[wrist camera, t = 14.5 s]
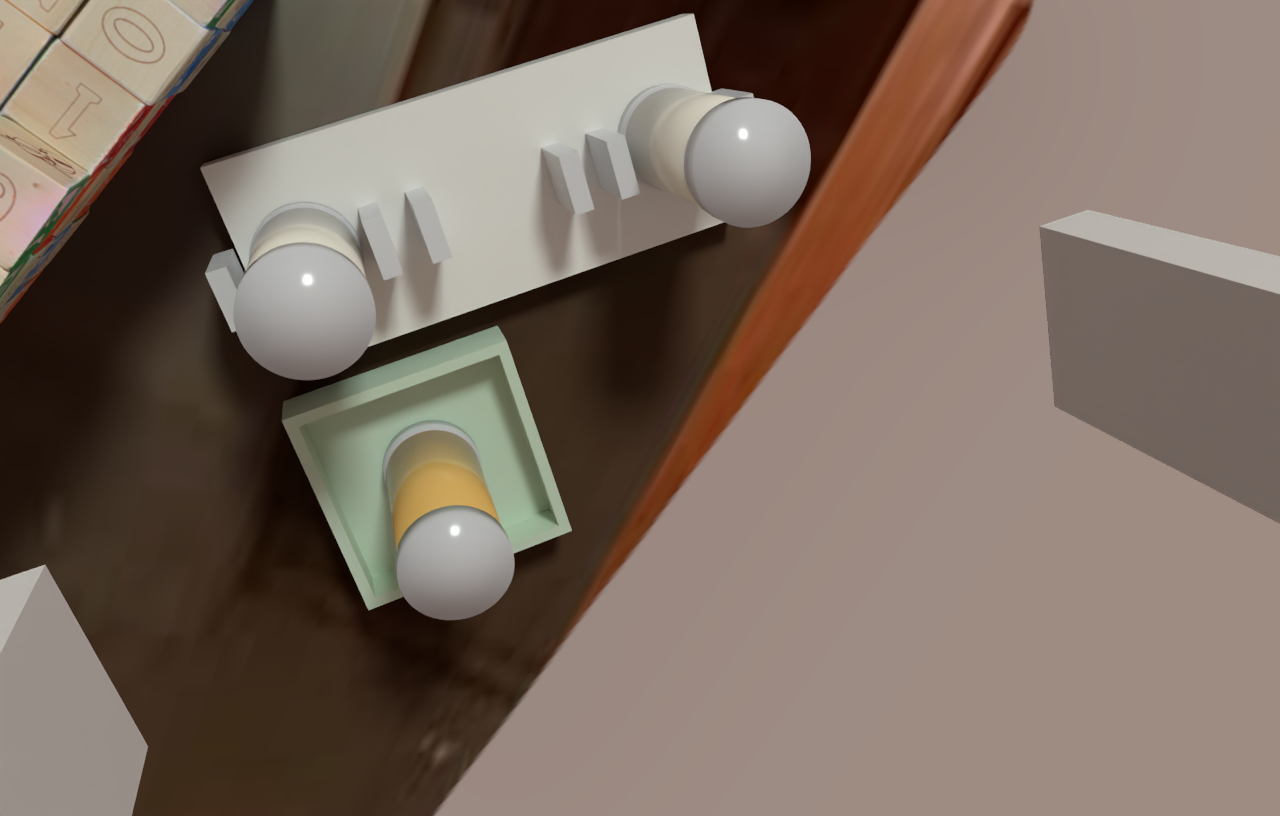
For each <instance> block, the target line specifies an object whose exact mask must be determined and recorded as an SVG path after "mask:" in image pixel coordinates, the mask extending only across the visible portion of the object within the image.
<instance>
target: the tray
mask: <svg viewBox="0 0 1280 816" xmlns="http://www.w3.org/2000/svg"><path fill="white" fill-rule="evenodd" d="M426 420H441V421H446V422H449V423H452V424H454V425H456V426H458V427H460V428H461V429H463V430H464V431H465V432H466V433H467V434H468V435H469V436H470V437H471V438H472V440H473V441H474V443H475V445H476V448H477V450H478V453H479V456H480V459H481V465H482V472H483V474H484V477H485V480H486V483H487V486H488V489H489V492H490V495H491V498H492V501H493V503H494V506H495V509H496V512H497V515H498V518H499V521H500V524H501V525H502V527H503V528H504V530H505V532H506V534H507V536H508V539H509V542H510V544H511V547H512V551H513V554H514V553H516V552H519V551H521V550H524V549H527V548H529V547H532V546H534V545H537V544H539V543H542V542H544V541H547V540H550V539H552V538H555V537H557V536H560V535H562V534H565V533H567V532H570V531H572V530H571V527H570V524H569V521H568V518H567V515H566V512H565V509H564V506H563V504H562V501H561V498H560V495H559V492H558V489H557V486H556V483H555V480H554V477H553V475H552V472H551V469H550V466H549V463H548V460H547V457H546V454H545V451H544V448H543V445H542V443H541V440H540V437H539V434H538V431H537V428H536V425H535V422H534V419H533V416H532V414H531V411H530V408H529V405H528V402H527V399H526V396H525V393H524V390H523V387H522V384H521V382H520V379H519V376H518V373H517V370H516V367H515V364H514V361H513V358H512V355H511V353H510V350H509V347H508V344H507V341H506V339H505V337H504V336H503V334H502V333H501V331H500V329H499V328H498V326H495V327H492V328H489V329H486V330H483V331H481V332H478V333H475V334H472V335H469V336H467V337H464V338H461V339H458V340H455V341H452V342H450V343H447V344H444V345H441V346H438V347H435V348H433V349H430V350H427V351H424V352H421V353H418V354H416V355H413V356H410V357H407V358H404V359H401V360H399V361H396V362H393V363H390V364H387V365H384V366H382V367H379V368H376V369H373V370H370V371H368V372H365V373H362V374H359V375H356V376H353V377H351V378H348V379H345V380H342V381H339V382H336V383H334V384H331V385H328V386H325V387H322V388H319V389H317V390H314V391H311V392H308V393H305V394H302V395H300V396H297V397H294V398H291V399H288V400H286V401H283V410H282V423H283V425H284V427H285V429H286V431H287V434H288V436H289V438H290V440H291V442H292V444H293V447H294V449H295V451H296V453H297V455H298V458H299V460H300V462H301V464H302V466H303V469H304V471H305V473H306V475H307V477H308V479H309V482H310V484H311V486H312V488H313V490H314V493H315V495H316V497H317V499H318V501H319V503H320V506H321V508H322V510H323V512H324V514H325V517H326V519H327V521H328V523H329V525H330V528H331V530H332V532H333V534H334V536H335V538H336V541H337V543H338V545H339V547H340V549H341V552H342V554H343V556H344V558H345V560H346V562H347V565H348V567H349V569H350V571H351V573H352V576H353V578H354V580H355V582H356V584H357V587H358V589H359V591H360V593H361V595H362V597H363V600H364V602H365V604H366V606H367V608H368V610H371V609H374V608H376V607H379V606H381V605H384V604H386V603H389V602H391V601H394V600H396V599H399V598H402V597H404V596H403V594H402V593H401V590H400V588H399V585H398V579H397V572H396V563H395V557H396V545H395V538H394V531H393V523H392V516H391V509H390V502H389V494H388V491H387V489H386V486H385V481H384V475H383V458H384V454H385V451H386V449H387V447H388V445H389V443H390V442H391V440H392V439H393V438H394V437H395V436H396V435H397V434H398V433H399V432H400V431H401V430H403V429H404V428H406V427H408V426H410V425H412V424H414V423H417V422H420V421H426Z"/></svg>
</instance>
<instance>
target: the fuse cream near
mask: <svg viewBox="0 0 1280 816" xmlns="http://www.w3.org/2000/svg"><path fill="white" fill-rule="evenodd" d="M233 317H234V324H235V328H236V332H237V335H238V337H239V339H240V341H241V343H242V345H243V347H244V348H245V349H246V351H247V352H248V353H249V355H250V356H251V357H252V358H253V359H254V360H255V361H256V362H258V363H259V364H260V365H261V366H263V367H264V368H266V369H268V370H269V371H271V372H273V373H275V374H278V375H280V376H283V377H286V378H291V379H296V380H317V379H323V378H327V377H330V376H333V375H335V374H338V373H340V372H342V371H344V370H345V369H347V368H348V367H350V366H351V365H352V364H354V363H355V362H356V361H357V360H358V359H359V358H360V357H361V356H362V354H363V353H364V352H365V350H366V349H367V347H368V345H369V343H370V341H371V339H372V336H373V333H374V329H375V323H376V309H375V303H374V299H373V294H372V291H371V288H370V285H369V283H368V281H367V279H366V276H365V271H364V255H363V250H362V245H361V242H360V239H359V236H358V234H357V232H356V230H355V229H354V227H353V226H352V224H351V223H350V222H349V221H348V220H347V219H346V218H345V217H344V216H343V215H342V214H340V213H339V212H337V211H336V210H334V209H332V208H330V207H328V206H326V205H323V204H319V203H315V202H307V201H306V202H293V203H289V204H285V205H283V206H281V207H278V208H277V209H275V210H273V211H272V212H270V213H269V214H268V215H267V216H266V217H265V218H264V219H263V220H262V221H261V222H260V224H259V225H258V227H257V229H256V230H255V232H254V235H253V238H252V241H251V245H250V250H249V262H248V265H247V269H246V272H245V273H244V275H243V277H242V279H241V281H240V283H239V286H238V289H237V292H236V296H235V300H234V307H233Z"/></svg>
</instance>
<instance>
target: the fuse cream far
mask: <svg viewBox="0 0 1280 816" xmlns="http://www.w3.org/2000/svg"><path fill="white" fill-rule="evenodd" d="M617 133H619V134H622V135H625V138H626V142H627V146H628V149H629V153H630V157H631V161H632V164H633V168H634V172H635V175H636V179H638V180H639V181H641V182H643V183H645V184H647V185H649V186H651V187H653V188H656V189H659V190H664V191H667V192H669V193H671V194H673V195H675V196H677V197H679V198H682V199H684V200H686V201H688V202H690V203H692V204H694V205H696V206H698V207H701V208H702V209H703V210H704V211H705V212H707V213H708V214H710V215H711V216H713V217H715V218H717V219H719V220H721V221H723V222H725V223H728V224H730V225H733V226H737V227H759V226H762V225H766V224H768V223H771V222H773V221H775V220H776V219H778V218H780V217H781V216H782V215H784V214H785V213H786V212H787V211H788V210H789V209H790V208H791V207H792V206H793V205H794V204H795V203H796V201H797V200H798V199H799V197H800V195H801V194H802V192H803V190H804V188H805V185H806V182H807V180H808V176H809V171H810V163H811V153H810V145H809V142H808V138H807V135H806V133H805V130H804V128H803V127H802V125H801V123H800V122H799V120H798V119H797V118H796V117H795V116H794V115H793V114H792V113H791V112H790V111H789V110H788V109H786V108H785V107H783V106H781V105H779V104H778V103H775V102H772V101H769V100H763V99H757V98H752V97H741V98H734V97H729V96H723V95H717V94H712V93H706V92H700V91H695V90H693V89H691V88H688V87H686V86H680V85H675V84H659V85H655V86H652V87H649V88H647V89H645V90H643V91H641V92H640V93H639V94H637V95H636V96H635V97H634V98H633V99H632V100H631V101H630V102H629V104H628V105H627V106H626V108H625V110H624V111H623V113H622V116H621V118H620V121H619V125H618V130H617Z"/></svg>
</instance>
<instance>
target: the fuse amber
mask: <svg viewBox="0 0 1280 816" xmlns="http://www.w3.org/2000/svg"><path fill="white" fill-rule="evenodd" d="M383 475H384V481H385V486H386V489H387V491H388V494H389V502H390V509H391V516H392V523H393V531H394V538H395V545H396V557H395V563H396V572H397V579H398V585H399V588H400V590H401V593H402V594H403V596H404V598H405V599H406V600H407V602H408V603H409V604H410V605H411V606H412V607H413V608H415V609H416V610H417V611H419V612H421V613H422V614H424V615H427V616H429V617H432V618H436V619H441V620H459V619H465V618H469V617H472V616H475V615H477V614H480V613H482V612H484V611H485V610H487V609H489V608H490V607H491V606H493V605H494V604H495V603H496V602H497V601H498V600H499V599H500V598H501V597H502V596H503V595H504V593H505V592H506V590H507V589H508V587H509V585H510V583H511V580H512V577H513V574H514V564H515V560H514V554H513V551H512V547H511V544H510V542H509V539H508V536H507V534H506V532H505V530H504V528H503V527H502V525H501V524H500V521H499V518H498V515H497V512H496V509H495V506H494V503H493V501H492V498H491V495H490V492H489V489H488V486H487V483H486V480H485V477H484V474H483V472H482V465H481V459H480V456H479V453H478V450H477V448H476V445H475V443H474V441H473V440H472V438H471V437H470V436H469V435H468V434H467V433H466V432H465V431H464V430H463V429H461V428H460V427H458V426H456V425H454V424H452V423H449V422H446V421H441V420H426V421H420V422H417V423H414V424H412V425H410V426H408V427H406V428H404V429H403V430H401V431H400V432H399V433H398V434H397V435H396V436H395V437H394V438H393V439H392V440H391V442H390V443H389V445H388V447H387V449H386V451H385V454H384V458H383Z"/></svg>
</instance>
